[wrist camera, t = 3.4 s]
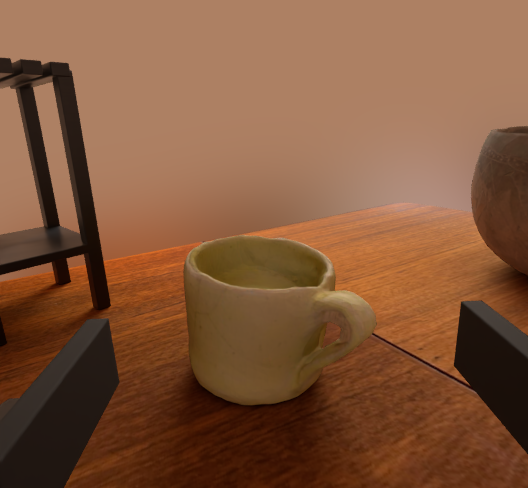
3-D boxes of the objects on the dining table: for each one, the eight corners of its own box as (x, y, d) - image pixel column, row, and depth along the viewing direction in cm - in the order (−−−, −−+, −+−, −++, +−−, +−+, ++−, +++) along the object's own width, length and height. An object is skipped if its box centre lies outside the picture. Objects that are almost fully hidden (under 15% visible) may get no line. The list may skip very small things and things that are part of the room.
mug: (135, 340, 27) (174, 204, 24) (251, 333, 33) (291, 225, 31) (220, 494, 18) (296, 306, 16) (355, 443, 25) (423, 305, 22)
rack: (-11, 350, 30) (-94, 50, 24) (-40, 309, 37) (-109, 71, 31) (111, 306, 37) (71, 63, 31) (66, 278, 44) (26, 78, 38)
